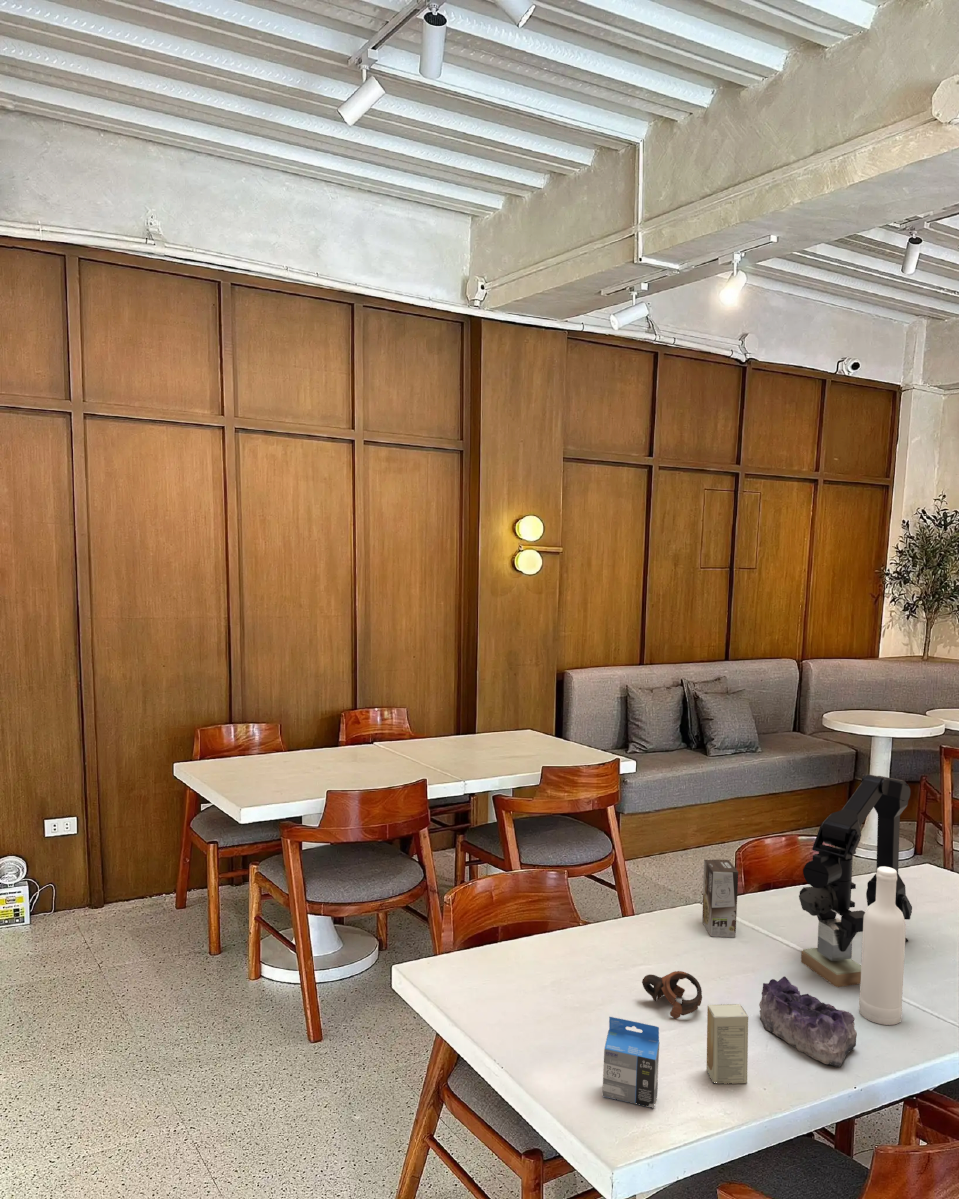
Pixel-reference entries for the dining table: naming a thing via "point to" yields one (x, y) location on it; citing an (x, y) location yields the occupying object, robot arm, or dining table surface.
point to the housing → (831, 941)
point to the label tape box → (631, 1062)
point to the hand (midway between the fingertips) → (834, 945)
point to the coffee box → (720, 898)
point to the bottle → (883, 954)
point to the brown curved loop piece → (673, 991)
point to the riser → (832, 968)
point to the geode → (807, 1022)
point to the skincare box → (727, 1043)
